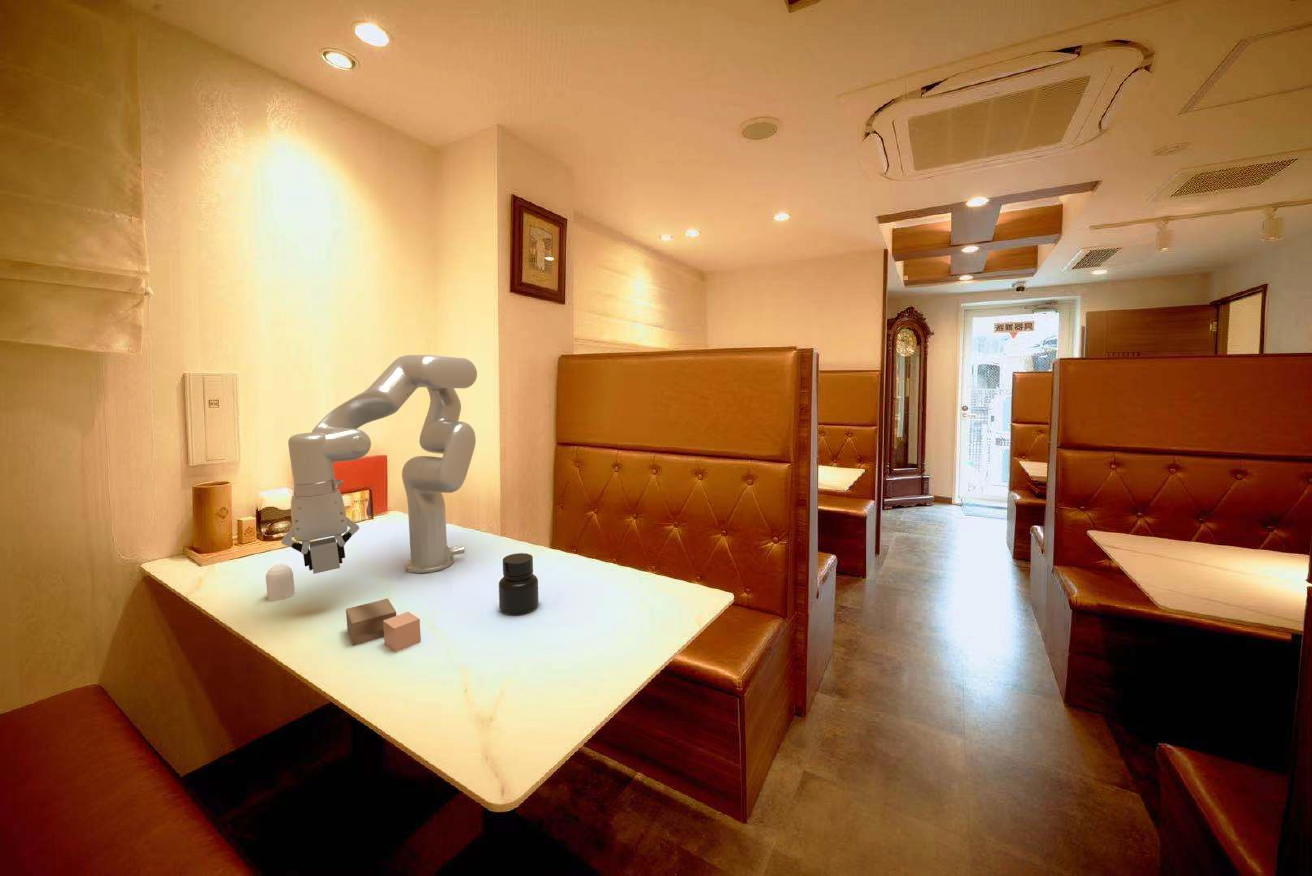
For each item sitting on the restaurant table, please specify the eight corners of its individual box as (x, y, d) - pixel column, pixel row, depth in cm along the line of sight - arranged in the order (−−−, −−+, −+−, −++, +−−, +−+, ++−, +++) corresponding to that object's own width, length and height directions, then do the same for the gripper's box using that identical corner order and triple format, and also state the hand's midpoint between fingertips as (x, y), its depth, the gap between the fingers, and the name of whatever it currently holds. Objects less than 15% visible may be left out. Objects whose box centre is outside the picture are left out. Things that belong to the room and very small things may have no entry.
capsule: (280, 601, 118) (277, 570, 117) (262, 599, 119) (258, 568, 118) (300, 592, 123) (297, 561, 122) (282, 590, 124) (279, 560, 123)
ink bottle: (523, 594, 122) (521, 548, 121) (547, 604, 117) (546, 556, 116) (490, 609, 114) (488, 560, 113) (514, 620, 109) (513, 569, 108)
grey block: (338, 560, 116) (334, 536, 115) (339, 568, 112) (336, 543, 111) (312, 566, 113) (309, 541, 112) (313, 574, 109) (309, 548, 108)
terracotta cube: (409, 634, 104) (408, 611, 103) (420, 642, 101) (419, 618, 100) (384, 644, 100) (382, 620, 99) (395, 652, 97) (394, 628, 96)
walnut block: (389, 619, 110) (387, 598, 109) (397, 634, 104) (396, 611, 103) (347, 631, 105) (345, 608, 104) (353, 647, 99) (351, 623, 98)
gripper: (357, 478, 117) (366, 550, 121) (267, 491, 107) (279, 569, 111) (361, 485, 112) (370, 560, 115) (266, 499, 101) (279, 581, 105)
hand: (325, 564), depth 113 cm, fingers closed on grey block, 5 cm apart
